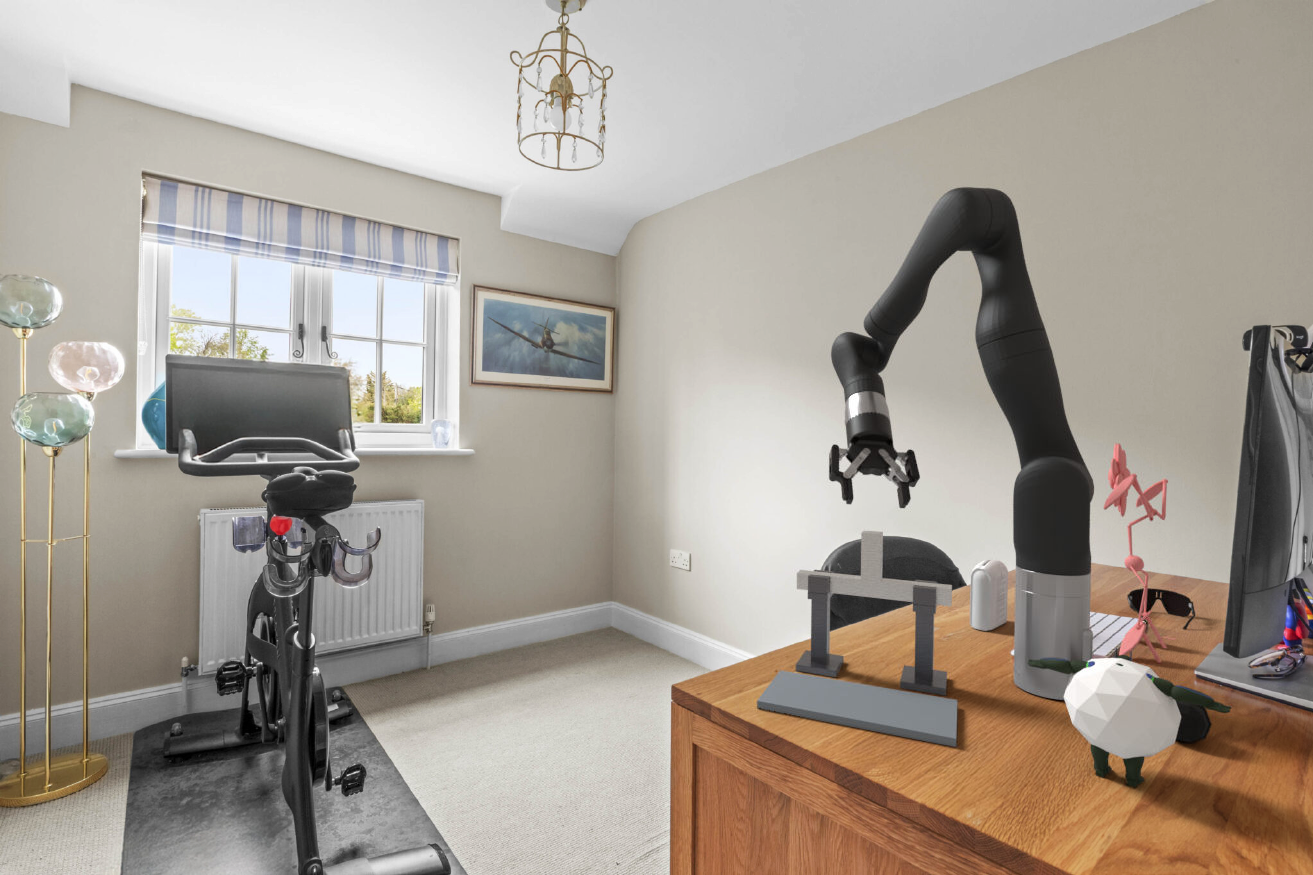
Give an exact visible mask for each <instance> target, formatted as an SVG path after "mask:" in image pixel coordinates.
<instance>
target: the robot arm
mask: <svg viewBox="0 0 1313 875" xmlns="http://www.w3.org/2000/svg"><path fill="white" fill-rule="evenodd" d="M1017 214H1018V213H1017V211H1016V208H1015V205H1014V203H1013V201H1012V199H1011V198H1010V196H1008V194H1006V193H1005V192H1004V191H1002V190H1000V189H995V188H991V187H989V188H988V187H973V186H972V187H971V186H969V187H968V186H966V187H965V186H963V187H962V186H961V187H956V188H953V189H950V190H948V191H947V192H945V193H944V194H943V195H942V196H941V197H940V198H938V200H937V202H936V203H935V205H933V208H932V209H931V211H930V213H929V214H928V216H927V217H926V219H925V221H924V222H923V223H924V224H923V225H922V227H921V229H920V230H919V232H918V235H917V237H916V239H915V240H914V242H913V244H912V246H911V247H910V249H909V251H908V252H907V255H906V257H905V258H904V261H903V263H902V264H901V266H900V268H899V269H898V271H897V273H896V275H895V276H894V278H893V280H892V281H891V282H890V283H889V285H888V287H887V288H886V290H885V291H884V292H883V293H882V295H880V297H879V298H878V300H877V301H876V302H875V304H873V306H872V308H871V309H870V310H869V311H868V313H867V314H866V316H865V317H864V320H863V329H864V331H865V332H866V334H867V335H868V336H866V335H863V334H859V333H857V332H853V331H845V332H843V333H840V334H839V335H838V336H837V337H836V338H835V339H834V341H833V343H832V345H831V352H830V358H831V363H832V366H833V369H834V371H835V373H836V376H837V378H838V380H839V382H840V384H841V387H842V388H843V394H844V404H845V405H844V406H845V407H844V425H845V433H846V443H847V445H846V446H847V448H840V446H839V445H838V444H832V446H831V448H830V450H829V454H828V457H829V458H828V479H829V481H830V482H837V483H839V484H840V488H841V498H842V500H843V501H844V502H845V504H846V505H852V503H853V501H854V489H853V479H854V478H855V477H856V475H857V474H858V473H860V474H862V476H863V475H864V476H869V475H873V476H877V477H881V476H882V475H883V477H885V479H887V481H889V482H891V483H893V484H894V486H896V487H897V488H896V492H897V493H896V494H897V499H898V506H899V507H898V508H899V509H905V508H906V506H908V505H909V503H910V501H911V500H912V498H911V491H910V490H911V489H910V488H915V487H916V485H917V484H918V482H919V480H920V479H921V475H920V471H919V467H918V463H917V458H916V457H917V456H916V454H915V451H914V450H913V449H907V451H906V452H905V451H904V452H900V451H899V452H897V450H896V448H895V447H894V438H893V432H892V424H891V417H890V411H889V407H888V403H887V399H886V397H887V396H886V391H885V384H884V381H883V378H882V376H881V375H880V373H881V372H884V370H885V368H886V367H887V365H888V364H889V361H890V358H891V356H892V354H893V351H894V349H895V347H896V344H897V343H898V341H899V338H901V336H902V335H903V333H905V331H906V330H907V329H908V328H909V327H910V326H911V324H912V323H913V321H915V319H916V318H917V317H918V316H919V314H920V313H921V311H922V310H923V308H924V306H925V303H926V300H927V297H928V293H929V288H930V285H931V282H932V279H933V277H934V275H935V274H936V273H937V271H938V270H939V268H940V267H941V266H942V265H943V264H945V262H946V261H947V260H949V259H950V258H951V257H952V256H953V255H954V254H955V253H957V252H971V255H972V256H973V258H974V261H975V264H976V267H977V271H978V274H979V277H980V278H979V279H980V281H981V282H980V283H981V298H980V304H979V309H978V313H977V317H976V324H975V332H974V333H975V334H974V335H975V338H974V339H975V344H976V348H977V349H976V350H977V351H978V355H979V360H980V362H981V367H982V369H983V372H984V375H985V378H986V380H987V383H988V386H989V388H990V390H991V392H992V394H993V395H994V397H995V400H996V401H997V403H998V405H999V408H1000V409H1001V411H1002V413H1003V415H1004V416H1005V418H1006V420H1007V422H1008V425H1009V427H1010V429H1011V432H1012V434H1013V438H1014V441H1015V445H1016V449H1017V450H1016V451H1017V453H1018V458H1019V465H1020V470H1019V472H1018V474H1017V475H1016V478H1015V481H1014V485H1013V495H1012V496H1013V497H1012V499H1013V500H1012V502H1013V503H1012V506H1013V507H1012V508H1013V509H1012V513H1013V514H1012V529H1013V530H1012V531H1013V532H1012V533H1013V534H1012V536H1013V537H1012V539H1013V540H1012V541H1013V547H1014V552H1015V579H1014V580H1015V582H1014V583H1015V586H1014V588H1015V589H1014V590H1015V591H1014V596H1015V597H1014V638H1013V639H1014V640H1013V646H1014V648H1013V649H1014V650H1013V654H1014V655H1013V683H1014V685H1015V686H1017V687H1018V688H1020V689H1021V690H1022V691H1025V692H1027V693H1030V694H1033V695H1034V696H1035V695H1036V696H1038V697H1042V698H1048V699H1052V700H1053V699H1054V700H1061V701H1065V700H1064V694H1065V691H1066V688H1067V684H1068V681H1069V678H1070V675H1071V674H1064V673H1060V672H1057V671H1054V670H1050V669H1040V668H1037V667H1032V666H1029V665H1028V662H1029V659H1031V660H1040V659H1041V658H1048V657H1050V658H1061V659H1066V660H1068V661H1073V660H1081V661H1086V662H1088V661H1089V660H1091V659H1093V651H1094V650H1093V648H1094V646H1093V643H1094V642H1093V641H1094V640H1093V639H1094V634H1093V633H1094V632H1093V631H1092V629H1091V589H1092V588H1091V586H1092V585H1091V584H1092V583H1091V579H1092V578H1091V577H1092V573H1091V572H1092V552H1091V537H1090V536H1091V502H1092V501H1093V498H1094V495H1095V484H1094V479H1093V477H1092V475H1091V473H1090V471H1089V468H1088V467H1087V464H1086V462H1085V460H1084V458H1083V455H1082V454H1081V451H1080V450H1079V447H1078V445H1077V442H1076V440H1075V438H1074V435H1073V433H1072V430H1071V427H1070V424H1069V422H1068V418H1067V415H1066V410H1065V405H1064V399H1063V393H1062V389H1061V384H1060V378H1059V374H1058V369H1057V366H1056V362H1055V357H1054V353H1053V349H1052V347H1051V344H1050V340H1049V336H1048V333H1047V330H1046V327H1045V324H1044V321H1043V319H1042V315H1041V314H1040V309H1039V307H1038V303H1037V300H1036V296H1035V293H1034V289H1033V286H1032V283H1031V279H1030V276H1029V271H1028V268H1027V263H1026V259H1025V253H1024V248H1023V242H1022V237H1021V230H1020V225H1019V220H1018V216H1017ZM843 457H845V458H846V460H848V462H849V463H850V464H849V467H847V468H846V469H845V471H841V470H840V462H841V461H842V460H843ZM896 460H897V461H898V462H900V465H901V466H902V467H904V471H902V468H901V466H900V465H899V464H898V463H897V462H896Z"/></svg>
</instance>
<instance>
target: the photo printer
mask: <svg viewBox="0 0 1313 875" xmlns="http://www.w3.org/2000/svg"><path fill="white" fill-rule="evenodd" d="M1008 581H1009V570H1008V567H1007V566H1006V564H1005V563H1004V562H1002V561H1000V559H999V560H998V559H991V558H988V559H984V560H983V561H981V562H979V563H978V564H976V565H975V566H974V567H973V569H972V570H971V574H970V587H969V588H970V596H969V598H970V599H969V624H970V627H972V629H973V630H979V631H985V632H988V631H992V630H994V629H996V628H998V627H1000V626H1002V625H1003V624H1005V623H1007V621H1008V600H1009V599H1008V594H1009V593H1008V590H1009V588H1008V587H1009V582H1008Z"/></svg>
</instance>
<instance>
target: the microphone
mask: <svg viewBox="0 0 1313 875" xmlns="http://www.w3.org/2000/svg"><path fill="white" fill-rule="evenodd" d="M1175 701H1176V700H1175ZM1176 703H1177V706H1178V709H1179V712H1180V714H1181V720H1180V724H1179V728H1178V732H1177V736H1176V740H1175V741H1178V740H1180V741H1179V742H1183V743H1188V744H1195V743H1197V742H1200V741H1202V740H1205V739H1206V738H1207V736H1208V734H1209V732H1210V729H1211V727H1212V725H1213V724H1212V722H1211V719H1210V716H1209V714H1208V712H1207V709H1206V708H1204V707H1203V706H1200V705H1195V704H1190V703H1184V702H1179V701H1176Z"/></svg>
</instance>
